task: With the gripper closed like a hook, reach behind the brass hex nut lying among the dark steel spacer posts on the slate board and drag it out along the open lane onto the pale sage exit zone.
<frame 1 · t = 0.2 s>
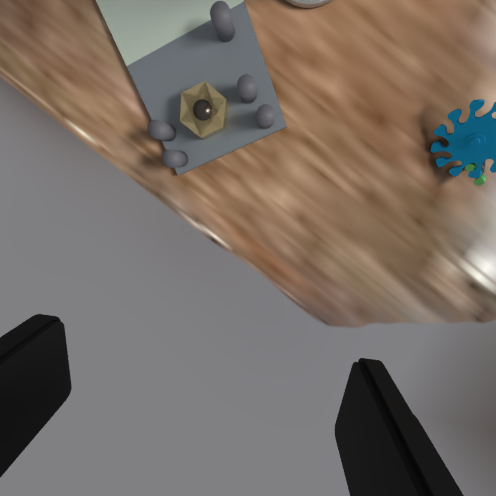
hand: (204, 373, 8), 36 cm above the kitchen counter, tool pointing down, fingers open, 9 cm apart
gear: (456, 146, 39), on the kitchen counter
nut: (207, 114, 38), point 1 cm above the kitchen counter, touching spacer board
spacer board: (181, 30, 36), on the kitchen counter
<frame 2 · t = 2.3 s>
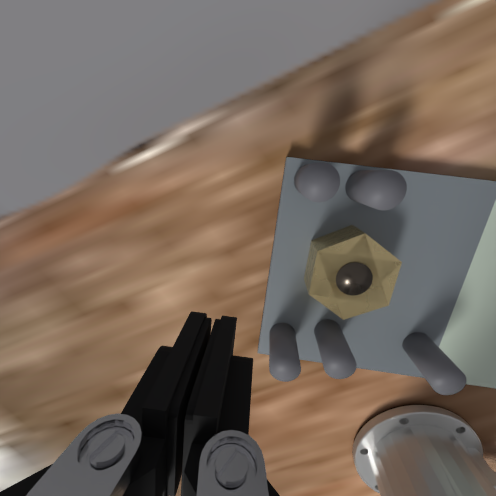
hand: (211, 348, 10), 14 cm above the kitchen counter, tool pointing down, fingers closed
nut: (342, 264, 22), point 1 cm above the kitchen counter, touching spacer board
spacer board: (463, 288, 23), on the kitchen counter
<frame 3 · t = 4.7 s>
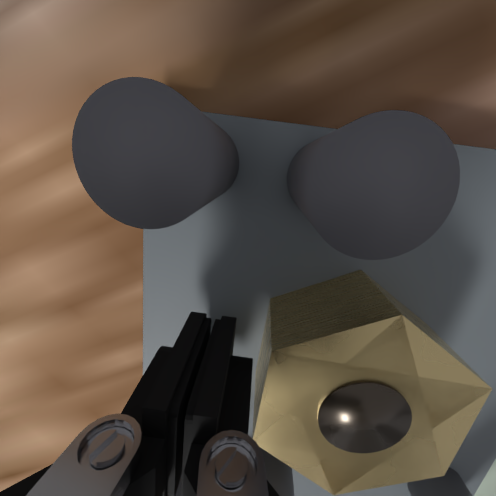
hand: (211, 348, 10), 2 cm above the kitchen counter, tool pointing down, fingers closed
nut: (336, 348, 10), point 1 cm above the kitchen counter, touching gripper
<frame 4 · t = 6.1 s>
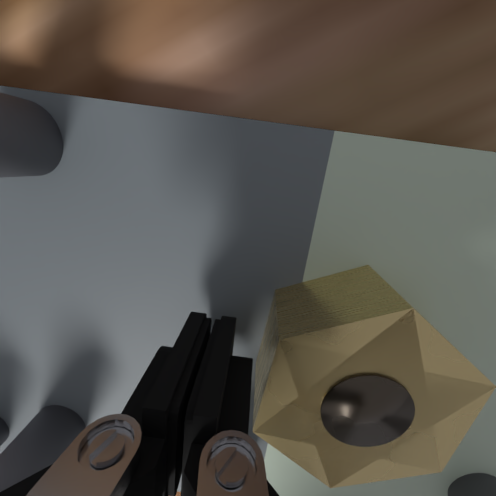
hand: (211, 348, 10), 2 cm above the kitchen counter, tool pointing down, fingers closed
nut: (338, 343, 10), point 1 cm above the kitchen counter, touching gripper, spacer board
spacer board: (305, 351, 12), on the kitchen counter
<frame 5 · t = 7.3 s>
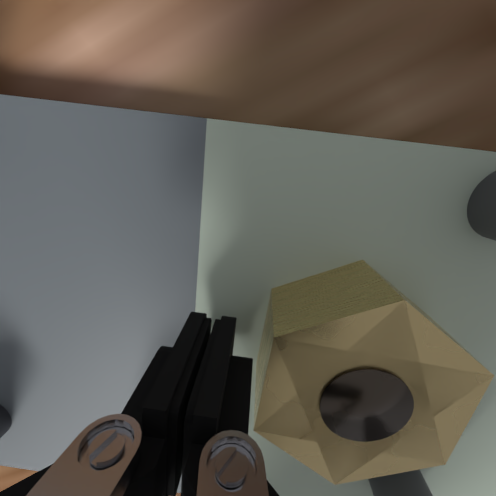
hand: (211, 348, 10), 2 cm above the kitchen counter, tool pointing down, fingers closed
nut: (337, 340, 10), point 1 cm above the kitchen counter, touching gripper, spacer board
spacer board: (219, 340, 12), on the kitchen counter
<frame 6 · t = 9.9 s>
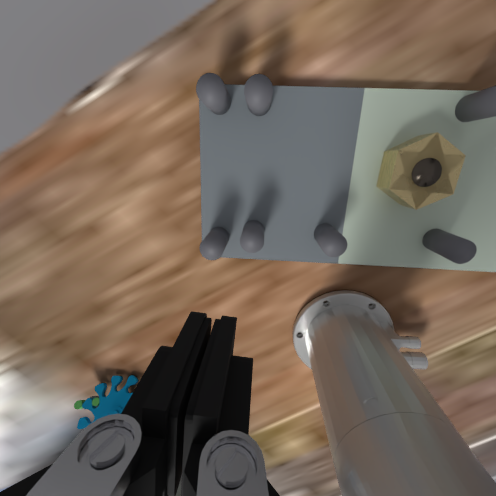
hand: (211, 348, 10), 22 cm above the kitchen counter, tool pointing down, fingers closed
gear: (127, 390, 40), on the kitchen counter
nut: (409, 171, 27), point 1 cm above the kitchen counter, touching spacer board
spacer board: (356, 184, 29), on the kitchen counter
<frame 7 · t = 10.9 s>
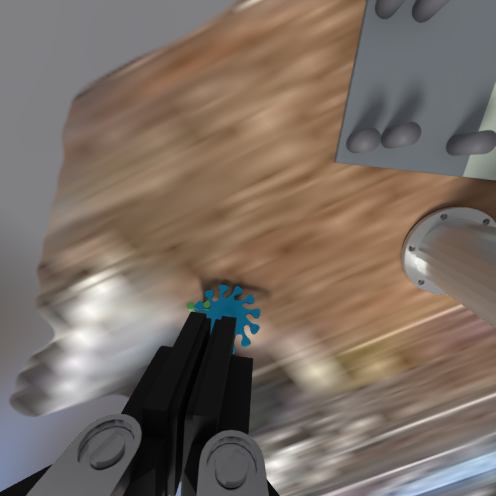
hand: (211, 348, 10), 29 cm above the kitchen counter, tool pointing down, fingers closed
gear: (227, 303, 42), on the kitchen counter
spacer board: (492, 99, 31), on the kitchen counter
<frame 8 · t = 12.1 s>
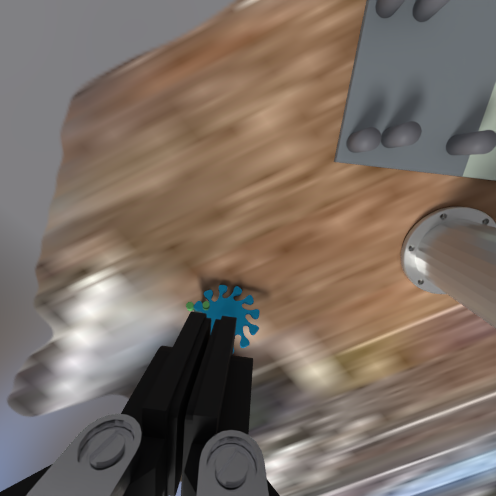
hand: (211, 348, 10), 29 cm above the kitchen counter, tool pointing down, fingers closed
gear: (226, 303, 42), on the kitchen counter
spacer board: (492, 99, 31), on the kitchen counter
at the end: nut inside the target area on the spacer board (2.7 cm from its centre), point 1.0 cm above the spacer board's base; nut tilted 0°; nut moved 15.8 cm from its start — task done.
